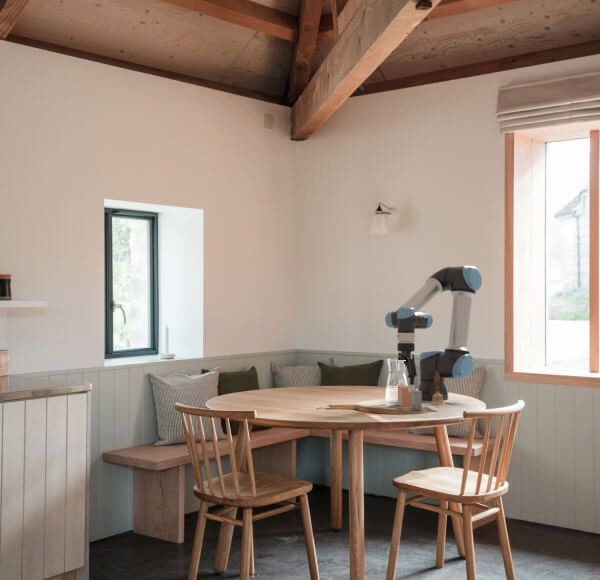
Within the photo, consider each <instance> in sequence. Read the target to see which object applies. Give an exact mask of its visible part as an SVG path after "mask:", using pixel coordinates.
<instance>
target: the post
mask: <svg viewBox="0 0 600 580" xmlns="http://www.w3.org/2000/svg"><path fill="white" fill-rule="evenodd" d="M422 401H423V400H422V392H421V391H418V390H416V391H412V406H411V408H412V410H414V411H418V410H422V406H423V405H422V404H423V403H422Z"/></svg>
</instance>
